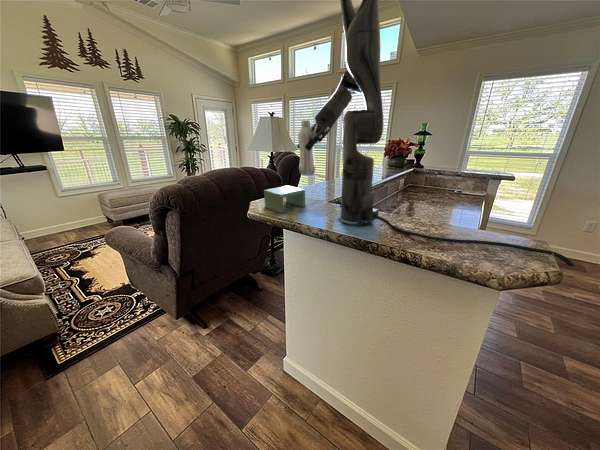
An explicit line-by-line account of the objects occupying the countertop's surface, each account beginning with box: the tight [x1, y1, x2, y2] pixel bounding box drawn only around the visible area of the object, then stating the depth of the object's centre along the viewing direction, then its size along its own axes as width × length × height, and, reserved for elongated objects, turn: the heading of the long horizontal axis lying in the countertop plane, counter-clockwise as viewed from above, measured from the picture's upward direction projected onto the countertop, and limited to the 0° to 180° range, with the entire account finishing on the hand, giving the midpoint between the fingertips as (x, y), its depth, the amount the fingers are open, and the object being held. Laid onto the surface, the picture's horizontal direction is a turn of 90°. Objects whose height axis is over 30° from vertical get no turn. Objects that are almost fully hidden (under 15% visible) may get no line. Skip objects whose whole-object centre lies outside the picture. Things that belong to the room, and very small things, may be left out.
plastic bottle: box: [297, 120, 316, 177], centre depth 89 cm, size 6×7×20 cm
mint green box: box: [263, 184, 306, 214], centre depth 93 cm, size 11×12×7 cm
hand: (302, 148), depth 89 cm, fingers closed on plastic bottle, 6 cm apart
